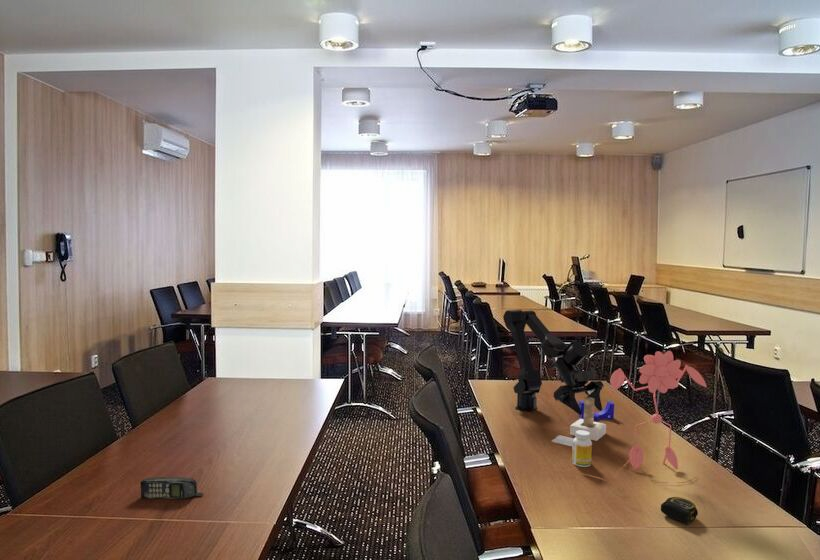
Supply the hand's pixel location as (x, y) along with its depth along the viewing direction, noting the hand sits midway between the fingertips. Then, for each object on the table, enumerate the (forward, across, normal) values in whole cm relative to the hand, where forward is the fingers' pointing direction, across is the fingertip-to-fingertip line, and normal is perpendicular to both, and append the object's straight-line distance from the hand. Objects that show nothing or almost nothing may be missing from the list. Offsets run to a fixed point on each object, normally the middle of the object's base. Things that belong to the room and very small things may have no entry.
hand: (591, 412), depth 181 cm
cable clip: (-3, +16, +15) cm, 22 cm away
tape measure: (+40, -22, -29) cm, 54 cm away
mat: (+6, -11, +5) cm, 14 cm away
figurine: (+27, -5, -15) cm, 31 cm away
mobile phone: (-6, -128, +18) cm, 129 cm away
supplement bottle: (+17, -20, -5) cm, 27 cm away
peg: (+5, 0, +6) cm, 8 cm away
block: (+5, 0, +6) cm, 8 cm away
